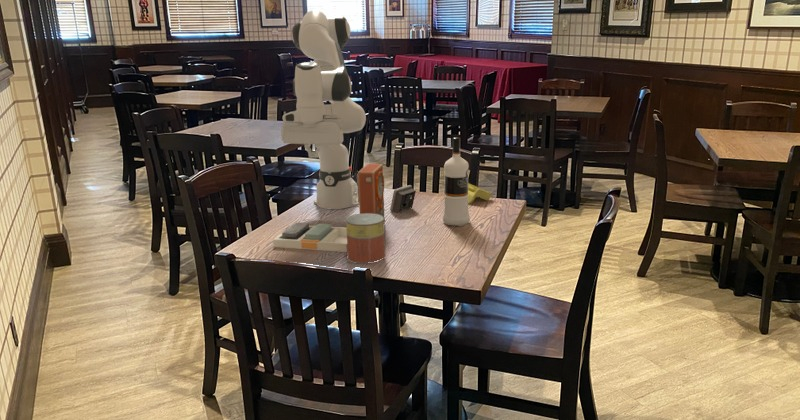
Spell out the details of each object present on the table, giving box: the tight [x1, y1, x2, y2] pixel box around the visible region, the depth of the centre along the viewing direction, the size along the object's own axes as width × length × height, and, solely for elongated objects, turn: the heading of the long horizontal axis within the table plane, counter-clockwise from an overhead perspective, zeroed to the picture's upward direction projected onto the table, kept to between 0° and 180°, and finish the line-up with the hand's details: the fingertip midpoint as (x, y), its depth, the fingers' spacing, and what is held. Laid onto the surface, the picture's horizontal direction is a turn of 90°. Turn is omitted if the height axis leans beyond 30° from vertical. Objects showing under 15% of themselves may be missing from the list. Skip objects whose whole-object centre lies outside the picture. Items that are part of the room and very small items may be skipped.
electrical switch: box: [389, 184, 417, 214], centre depth 225 cm, size 9×5×9 cm, turn 138°
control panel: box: [356, 163, 386, 222], centre depth 203 cm, size 21×7×15 cm
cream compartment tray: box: [272, 224, 348, 254], centre depth 193 cm, size 16×24×3 cm, turn 76°
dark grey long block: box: [281, 222, 310, 240], centre depth 195 cm, size 11×4×4 cm, turn 166°
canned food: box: [345, 213, 386, 264], centre depth 179 cm, size 11×11×12 cm
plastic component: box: [468, 182, 493, 205], centre depth 242 cm, size 20×7×10 cm
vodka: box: [442, 136, 471, 227], centre depth 206 cm, size 9×9×30 cm
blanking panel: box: [305, 223, 332, 241], centre depth 193 cm, size 11×4×4 cm, turn 165°
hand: (313, 157), depth 196 cm, fingers closed
